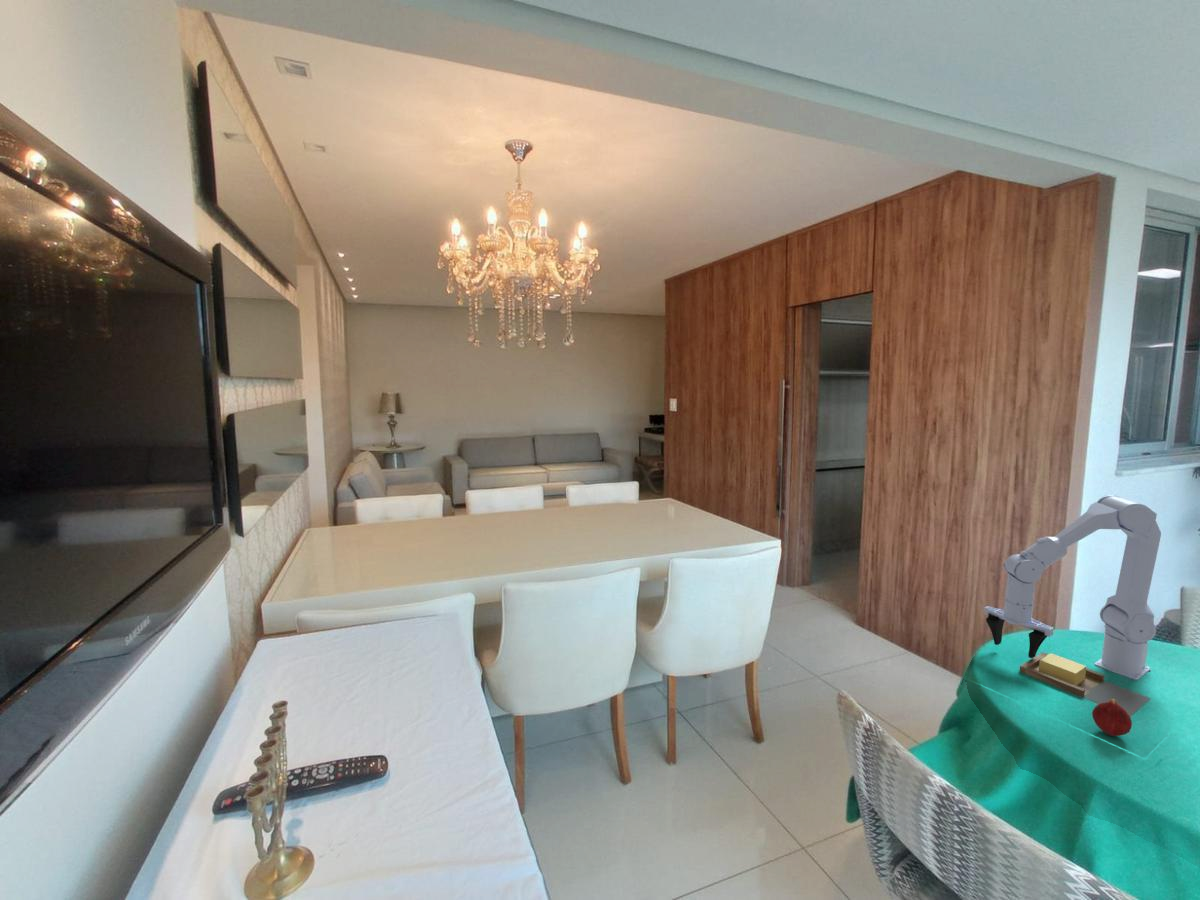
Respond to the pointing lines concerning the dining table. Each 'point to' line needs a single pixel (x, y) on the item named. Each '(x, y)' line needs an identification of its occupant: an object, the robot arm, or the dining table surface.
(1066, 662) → the block
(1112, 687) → the mat
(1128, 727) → the onion
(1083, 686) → the brown wooden tray
